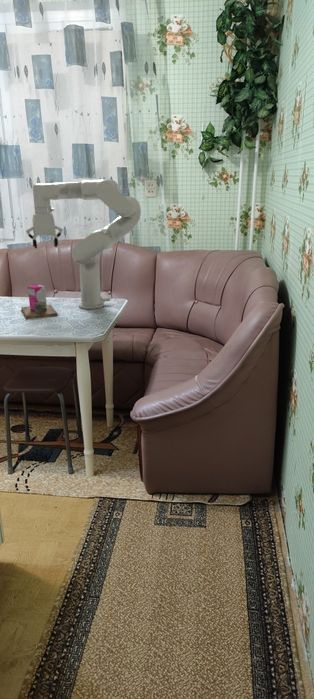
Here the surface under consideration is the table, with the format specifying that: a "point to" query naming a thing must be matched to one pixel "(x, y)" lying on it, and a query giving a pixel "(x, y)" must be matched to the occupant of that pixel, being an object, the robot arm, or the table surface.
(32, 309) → the supplement box
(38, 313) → the hinge board
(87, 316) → the table surface
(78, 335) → the table surface
